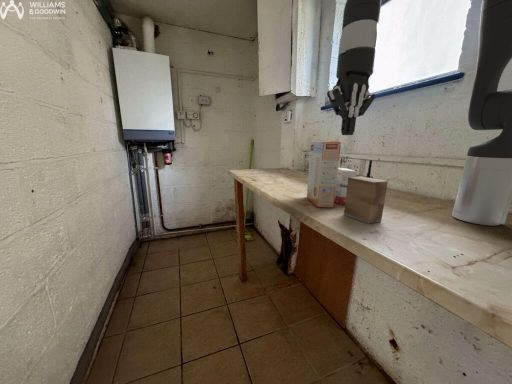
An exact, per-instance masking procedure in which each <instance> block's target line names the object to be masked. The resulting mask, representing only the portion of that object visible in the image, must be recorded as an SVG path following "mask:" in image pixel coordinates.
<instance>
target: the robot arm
mask: <svg viewBox="0 0 512 384" xmlns="http://www.w3.org/2000/svg"><path fill="white" fill-rule="evenodd" d="M344 4H345V5H344V10H343V14H342V15H343V17H342V25H341V26H342V27H341V34H340V38H339V44H338V53H337V54H338V55H337V63H336V64H337V65H336V75H335V76H336V78H337V81H336V84H335V86H334V88H333V89H331V90H328V91H327V92H326V95H327V98H328V100H329V102H330V104H331V107H332V109H333V112H334V114H335V116H339V117H340V118H341V126H340V127H341V129H340V132H341V135H342V136H353V135H354V134H355V130H356V121H357V119H358V117H362V116H364V114H365V113H366V112H367V110H368V109H369V108H370V106H371V105H372V103H373V102H374V100H375V99H376V94H375V93H372V94H371V92H370V91H369V89H370V83H369V79H370V78H371V76H372V75H373V74H374V71H375V70H374V69H375V62H376V58H377V57H376V56H377V55H376V54H377V48H378V41H379V40H378V39H379V24H380V23H379V22H380V15H381V9H382V0H346V3H344ZM479 17H480V18H479V26H478V46H477V56H476V57H477V58H476V69H475V74H474V80H473V86H472V90H471V95H470V96H471V97H470V101H469V106H468V111H467V112H468V113H467V115H468V116H467V121H468V125H469V127H470V128H471V129H472V130H473V131H492V130H493V131H494V130H495V131H497V130H501V132H500V133H499V135H498V136H496V137H494V138H491V139H489V140H487V141H483V142H480V143H475V144H471V145H470V146H469V147H468V149H467V150H468V151H467V154H466V158H465V161H464V166H463V170H462V174H461V177H460V181H459V186H458V189H457V195H456V198H455V203H454V206H453V210H452V215H451V216H452V217H453V218H455V219H458V220H459V221H464V222H466V223H471V224H476V225H477V224H478V225H483V226H496V227H497V226H500V225H505V223H506V220H507V217H508V214H509V212H510V208H511V205H512V88H511V89H503V90H498V87H499V83H500V81H501V78H502V75H503V73H504V70H505V69H506V68H507V66H508V64H509V63H510V61H511V60H512V0H481V6H480V16H479Z"/></svg>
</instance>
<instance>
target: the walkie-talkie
mask: <svg viewBox="0 0 512 384" xmlns="http://www.w3.org/2000/svg"><path fill="white" fill-rule="evenodd" d="M368 161H369V162H368V169H367V173H366V175H363V176H362V177H367V178H373V179H375V178H374V177H373V176H371V172H372V164H373V160H371V159H369V160H368Z"/></svg>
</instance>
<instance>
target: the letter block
mask: <svg viewBox="0 0 512 384" xmlns="http://www.w3.org/2000/svg"><path fill="white" fill-rule="evenodd" d="M373 178H374V177H373ZM373 178H367V177H363V176H356V177H348V184H347V193H346V201H345V204H344V209H343V210H344V211H343V215H344V216H349V217H351V218H353V219H355V220H358V221H360V222H362V223H365V224H367V225H371V224H373V223H378V222H379V223H381V222H382V220H383V219H382V218H383V214H384V206H385V202H386V200H385V199H386V194H387V189H388V183H389V180H384V179H377V178H374V179H373Z"/></svg>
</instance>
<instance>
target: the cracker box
mask: <svg viewBox="0 0 512 384" xmlns="http://www.w3.org/2000/svg"><path fill="white" fill-rule="evenodd" d="M341 144H342V142H341V141H336V140H335V141H329V140H328V141H321V140H320V141H311V142H310V152H309V163H308V165H309V166H308V179H307V189H306V198H307V199H308V200H309V201H310V202H312V204H314V206H315V207H317V208H332V209H333V208H334V206H335V201H334V200H335V191H336V182H337V173H338V168H339V165H340V163H339V162H340V157H341V154H340V153H341Z"/></svg>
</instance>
